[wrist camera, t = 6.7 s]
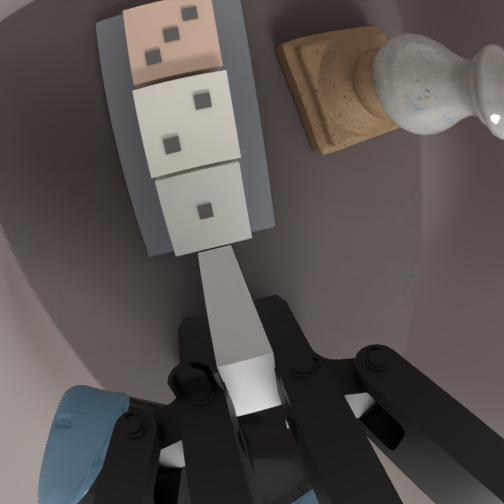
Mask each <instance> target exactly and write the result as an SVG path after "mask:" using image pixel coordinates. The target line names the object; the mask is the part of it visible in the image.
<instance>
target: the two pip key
mask: <svg viewBox="0 0 504 504" xmlns="http://www.w3.org/2000/svg"><path fill="white" fill-rule="evenodd" d="M132 92H133V97H134V102H135V107H136V112H137V117H138V122H139V127H140V131H141V136H142V140H143V145H144V149H145V154H146V158H147V162H148V166H149V170H150V174H151V178H155V177H158V176H162V175H166V174H170V173H174V172H178V171H182V170H186V169H190V168H195V167H199V166H203V165H208V164H212V163H217V162H222V161H226V160H231V159H236V158H241V154H240V148H239V142H238V136H237V130H236V125H235V119H234V113H233V107H232V101H231V95H230V89H229V83H228V77H227V71H226V70H224V71H218V72H212V73H206V74H200V75H195V76H190V77H185V78H181V79H176V80H172V81H167V82H163V83H159V84H155V85H151V86H148V87H144V88H140V89H137V90H133V91H132Z"/></svg>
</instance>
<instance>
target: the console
mask: <svg viewBox="0 0 504 504" xmlns="http://www.w3.org/2000/svg"><path fill="white" fill-rule="evenodd" d="M212 6H213V12H214V17H215V23H216V29H217V35H218V41H219V47H220V52H221V58H222V64H223V66H222V67H221V68H220V69H219V71H224V70H226V71H227V77H228V83H229V89H230V95H231V101H232V107H233V113H234V119H235V125H236V130H237V136H238V142H239V148H240V154H241V158H236V160H237V161H239V164H240V170H241V176H242V182H243V188H244V194H245V200H246V206H247V212H248V218H249V224H250V230H251V232H255V231H259V230H264V229H268V228H272V227H275V220H274V212H273V205H272V197H271V190H270V182H269V175H268V168H267V161H266V154H265V147H264V140H263V133H262V127H261V120H260V113H259V107H258V101H257V94H256V88H255V82H254V76H253V70H252V64H251V58H250V52H249V46H248V40H247V35H246V29H245V23H244V18H243V12H242V7H241V2H240V0H212ZM96 32H97V41H98V48H99V56H100V63H101V69H102V76H103V82H104V87H105V93H106V98H107V103H108V109H109V113H110V118H111V123H112V128H113V132H114V136H115V141H116V145H117V149H118V153H119V157H120V161H121V165H122V169H123V173H124V177H125V180H126V184H127V187H128V191H129V194H130V198H131V201H132V205H133V208H134V211H135V215H136V218H137V221H138V224H139V228H140V231H141V234H142V237H143V240H144V243H145V246H146V249H147V252H148V255H149V257H153V256H157V255H161V254H165V253H168V252H172V251H174V249H173V246H172V242H171V239H170V235H169V232H168V228H167V225H166V221H165V218H164V214H163V211H162V207H161V203H160V200H159V196H158V192H157V188H156V184H155V180H156V177H155V178H151V174H150V170H149V166H148V162H147V158H146V154H145V149H144V145H143V140H142V136H141V131H140V127H139V122H138V117H137V112H136V107H135V102H134V97H133V92H132V91H133V90H137V89H140V88H138V87H136V86H134V84H133V78H132V72H131V66H130V60H129V54H128V47H127V40H126V33H125V25H124V17H123V14H121V15H118V16H115V17H111V18H108V19H105V20H103V21H100V22H97V23H96Z"/></svg>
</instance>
